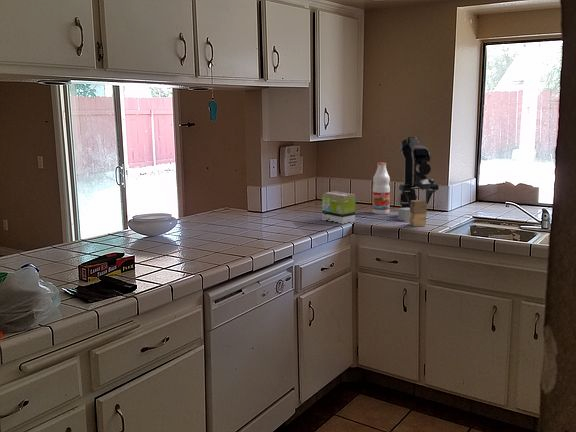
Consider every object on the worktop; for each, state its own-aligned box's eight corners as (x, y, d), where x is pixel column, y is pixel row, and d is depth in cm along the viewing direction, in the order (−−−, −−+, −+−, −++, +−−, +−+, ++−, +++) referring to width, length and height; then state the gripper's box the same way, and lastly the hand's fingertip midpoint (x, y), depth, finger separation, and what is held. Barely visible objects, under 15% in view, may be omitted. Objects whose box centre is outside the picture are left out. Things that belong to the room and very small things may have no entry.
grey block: (398, 219, 304) (398, 208, 303) (407, 218, 307) (407, 207, 306) (405, 221, 299) (405, 210, 298) (414, 220, 302) (414, 209, 301)
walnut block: (409, 212, 291) (410, 200, 290) (421, 211, 292) (421, 200, 291) (414, 214, 285) (415, 202, 284) (426, 213, 286) (426, 201, 285)
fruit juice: (388, 211, 329) (389, 162, 324) (390, 214, 319) (391, 163, 314) (371, 211, 329) (372, 162, 324) (373, 214, 320) (374, 163, 315)
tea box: (321, 220, 304) (321, 192, 301) (334, 218, 310) (334, 190, 308) (342, 224, 293) (342, 195, 290) (355, 221, 299) (356, 193, 297)
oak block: (409, 224, 292) (409, 212, 291) (420, 223, 293) (421, 211, 292) (414, 226, 286) (414, 214, 285) (425, 225, 287) (426, 213, 286)
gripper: (408, 175, 275) (407, 207, 278) (444, 174, 279) (443, 206, 282) (399, 173, 286) (398, 204, 289) (434, 171, 290) (433, 202, 293)
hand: (418, 204), depth 288 cm, fingers open, 9 cm apart
